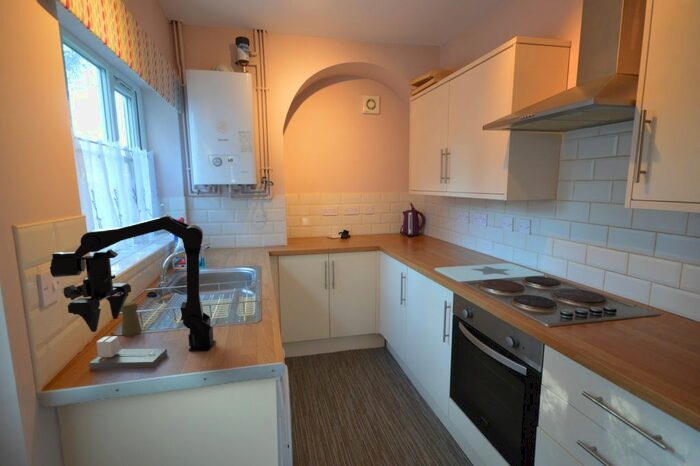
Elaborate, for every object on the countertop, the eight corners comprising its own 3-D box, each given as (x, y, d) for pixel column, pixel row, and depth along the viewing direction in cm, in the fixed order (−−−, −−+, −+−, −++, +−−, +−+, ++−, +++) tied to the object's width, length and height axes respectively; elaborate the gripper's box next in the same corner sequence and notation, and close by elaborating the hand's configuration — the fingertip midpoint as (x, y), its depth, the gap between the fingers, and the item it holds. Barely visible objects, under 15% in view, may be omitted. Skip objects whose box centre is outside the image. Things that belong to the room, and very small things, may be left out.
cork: (137, 327, 129) (134, 298, 127) (144, 331, 125) (141, 302, 123) (119, 332, 124) (115, 303, 123) (125, 337, 121) (122, 307, 119)
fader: (119, 351, 105) (117, 336, 105) (112, 357, 102) (110, 341, 101) (106, 351, 105) (104, 336, 105) (98, 357, 102) (96, 341, 101)
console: (167, 354, 108) (166, 348, 108) (153, 368, 100) (152, 361, 100) (108, 355, 108) (107, 349, 108) (90, 369, 100) (89, 362, 100)
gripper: (94, 265, 109) (99, 313, 111) (43, 283, 91) (51, 339, 93) (129, 265, 109) (134, 313, 112) (86, 282, 91) (93, 339, 93)
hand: (105, 325), depth 102 cm, fingers open, 9 cm apart
